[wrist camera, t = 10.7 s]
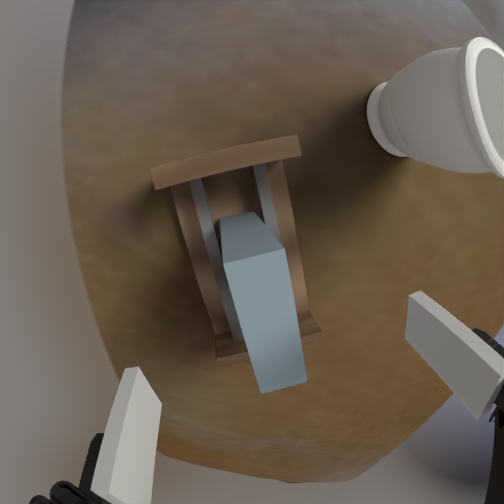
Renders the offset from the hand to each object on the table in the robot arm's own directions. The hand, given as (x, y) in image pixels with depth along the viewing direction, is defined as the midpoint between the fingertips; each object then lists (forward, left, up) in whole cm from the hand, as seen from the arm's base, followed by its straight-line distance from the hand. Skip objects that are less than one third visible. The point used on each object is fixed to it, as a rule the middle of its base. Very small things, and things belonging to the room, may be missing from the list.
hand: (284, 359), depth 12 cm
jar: (-11, +19, -16) cm, 27 cm away
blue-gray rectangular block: (0, 0, -15) cm, 15 cm away
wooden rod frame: (-1, 0, -16) cm, 16 cm away
